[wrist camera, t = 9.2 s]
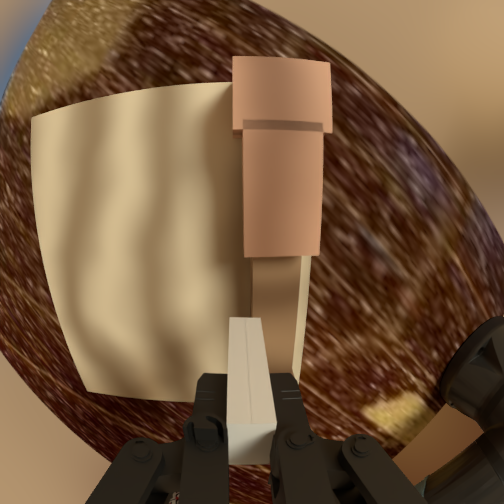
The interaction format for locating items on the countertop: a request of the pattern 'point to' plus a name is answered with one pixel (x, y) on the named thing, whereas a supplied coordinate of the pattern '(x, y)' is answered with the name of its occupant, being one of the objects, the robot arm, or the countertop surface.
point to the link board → (177, 217)
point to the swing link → (276, 306)
